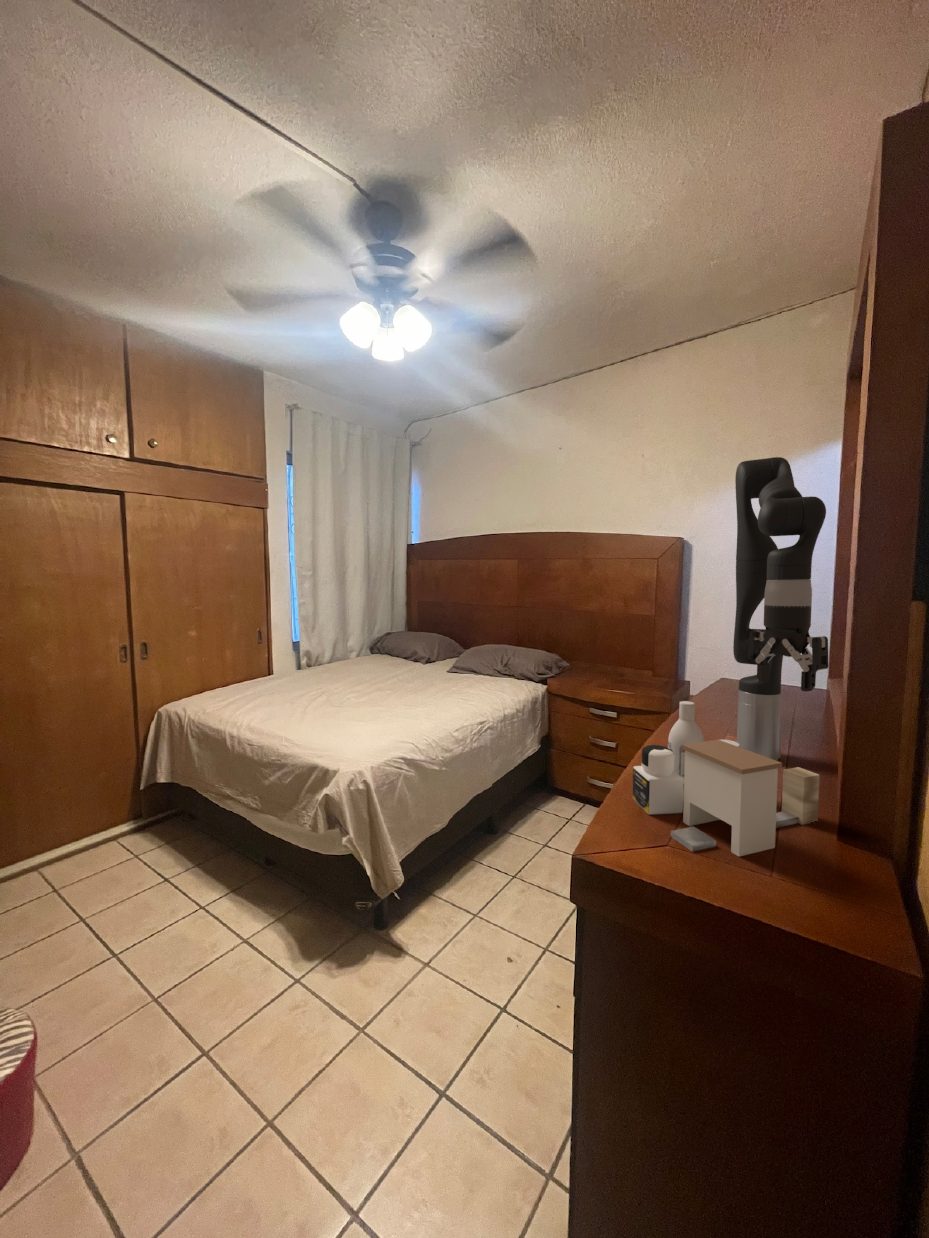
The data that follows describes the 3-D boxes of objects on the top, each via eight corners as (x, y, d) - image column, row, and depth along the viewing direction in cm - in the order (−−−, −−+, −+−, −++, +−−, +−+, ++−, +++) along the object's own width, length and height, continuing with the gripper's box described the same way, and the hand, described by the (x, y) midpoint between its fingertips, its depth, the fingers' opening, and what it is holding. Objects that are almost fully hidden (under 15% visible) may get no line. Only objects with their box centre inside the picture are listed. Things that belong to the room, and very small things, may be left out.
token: (693, 834, 84) (693, 826, 84) (715, 849, 80) (716, 840, 80) (670, 839, 83) (670, 830, 83) (692, 854, 78) (692, 845, 78)
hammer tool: (796, 811, 92) (798, 767, 91) (817, 821, 88) (819, 774, 87) (733, 825, 87) (735, 777, 86) (753, 836, 83) (755, 786, 82)
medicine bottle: (631, 798, 98) (632, 742, 97) (664, 797, 98) (666, 741, 98) (648, 815, 91) (649, 754, 90) (683, 813, 91) (684, 753, 91)
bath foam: (710, 798, 98) (713, 704, 96) (687, 805, 95) (690, 708, 93) (682, 786, 104) (684, 697, 103) (659, 792, 101) (661, 700, 100)
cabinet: (716, 814, 91) (718, 739, 90) (778, 848, 79) (782, 762, 78) (679, 821, 88) (681, 744, 87) (739, 858, 76) (742, 769, 75)
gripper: (840, 604, 85) (836, 692, 86) (766, 601, 98) (764, 677, 99) (812, 605, 82) (808, 696, 83) (739, 602, 95) (737, 680, 97)
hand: (784, 686), depth 91 cm, fingers open, 8 cm apart
